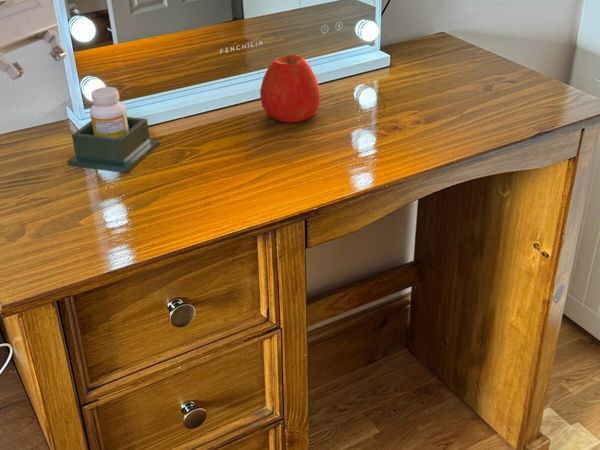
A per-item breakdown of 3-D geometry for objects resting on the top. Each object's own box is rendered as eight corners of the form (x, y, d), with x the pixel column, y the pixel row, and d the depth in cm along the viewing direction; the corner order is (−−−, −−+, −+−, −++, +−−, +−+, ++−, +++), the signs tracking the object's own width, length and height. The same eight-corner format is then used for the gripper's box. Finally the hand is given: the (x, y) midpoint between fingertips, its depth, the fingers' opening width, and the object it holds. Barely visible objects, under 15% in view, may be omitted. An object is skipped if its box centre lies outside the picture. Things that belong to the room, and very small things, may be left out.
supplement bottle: (105, 141, 123) (95, 84, 118) (137, 143, 122) (128, 85, 117) (91, 156, 119) (80, 97, 114) (123, 158, 118) (114, 99, 113)
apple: (280, 100, 138) (277, 43, 133) (331, 109, 134) (330, 51, 129) (251, 121, 131) (246, 62, 125) (304, 131, 126) (302, 70, 121)
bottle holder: (68, 165, 118) (62, 136, 116) (103, 137, 127) (98, 110, 124) (127, 173, 115) (122, 144, 113) (159, 144, 124) (155, 117, 121)
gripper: (22, -6, 127) (77, 59, 128) (-80, 25, 112) (-16, 99, 113) (37, -32, 123) (94, 36, 124) (-66, -2, 108) (0, 75, 109)
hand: (41, 66), depth 118 cm, fingers open, 8 cm apart
